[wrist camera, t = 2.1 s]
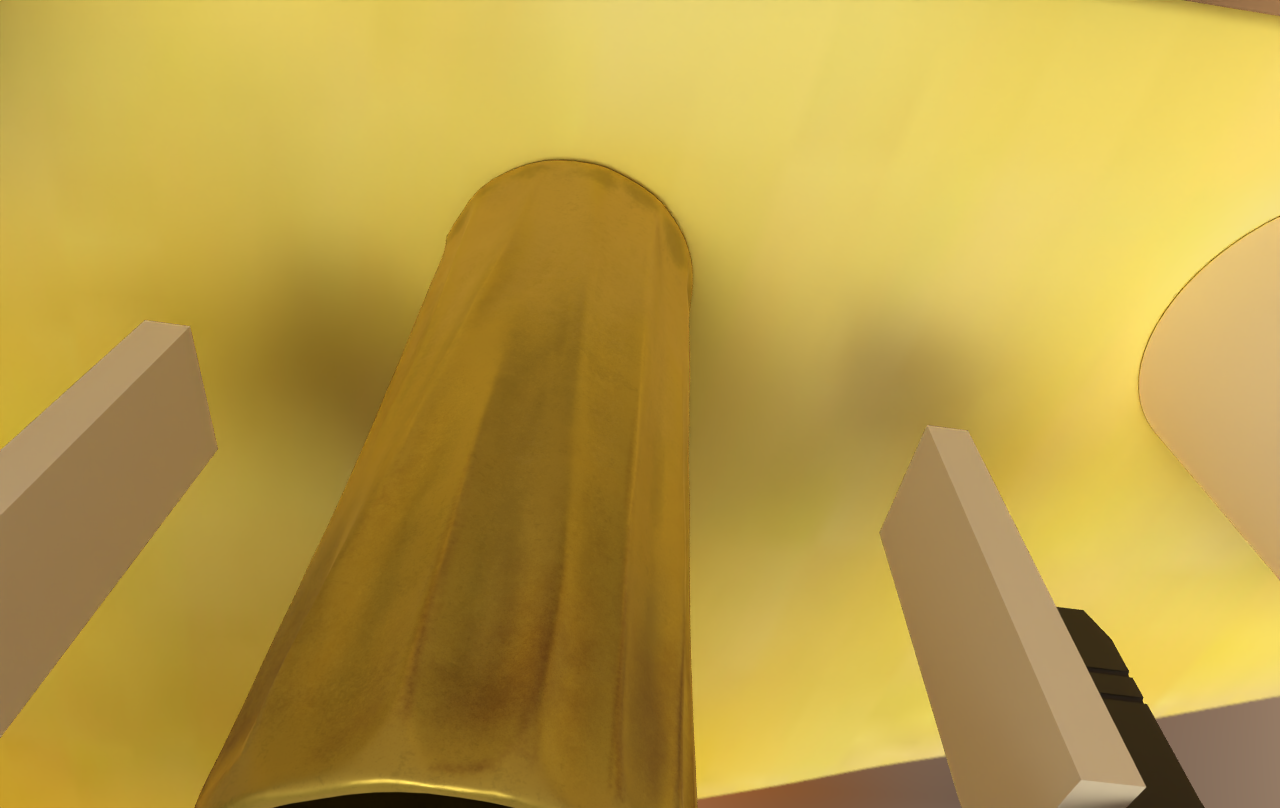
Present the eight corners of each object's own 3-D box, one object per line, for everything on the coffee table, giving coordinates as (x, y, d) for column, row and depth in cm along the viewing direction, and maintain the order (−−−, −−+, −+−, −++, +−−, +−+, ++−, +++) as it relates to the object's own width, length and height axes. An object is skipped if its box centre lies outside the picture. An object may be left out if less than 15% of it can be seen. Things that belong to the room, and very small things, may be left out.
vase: (465, 124, 17) (79, 692, 6) (727, 196, 18) (850, 818, 7) (432, 350, 21) (151, 989, 9) (654, 402, 22) (652, 1046, 10)
